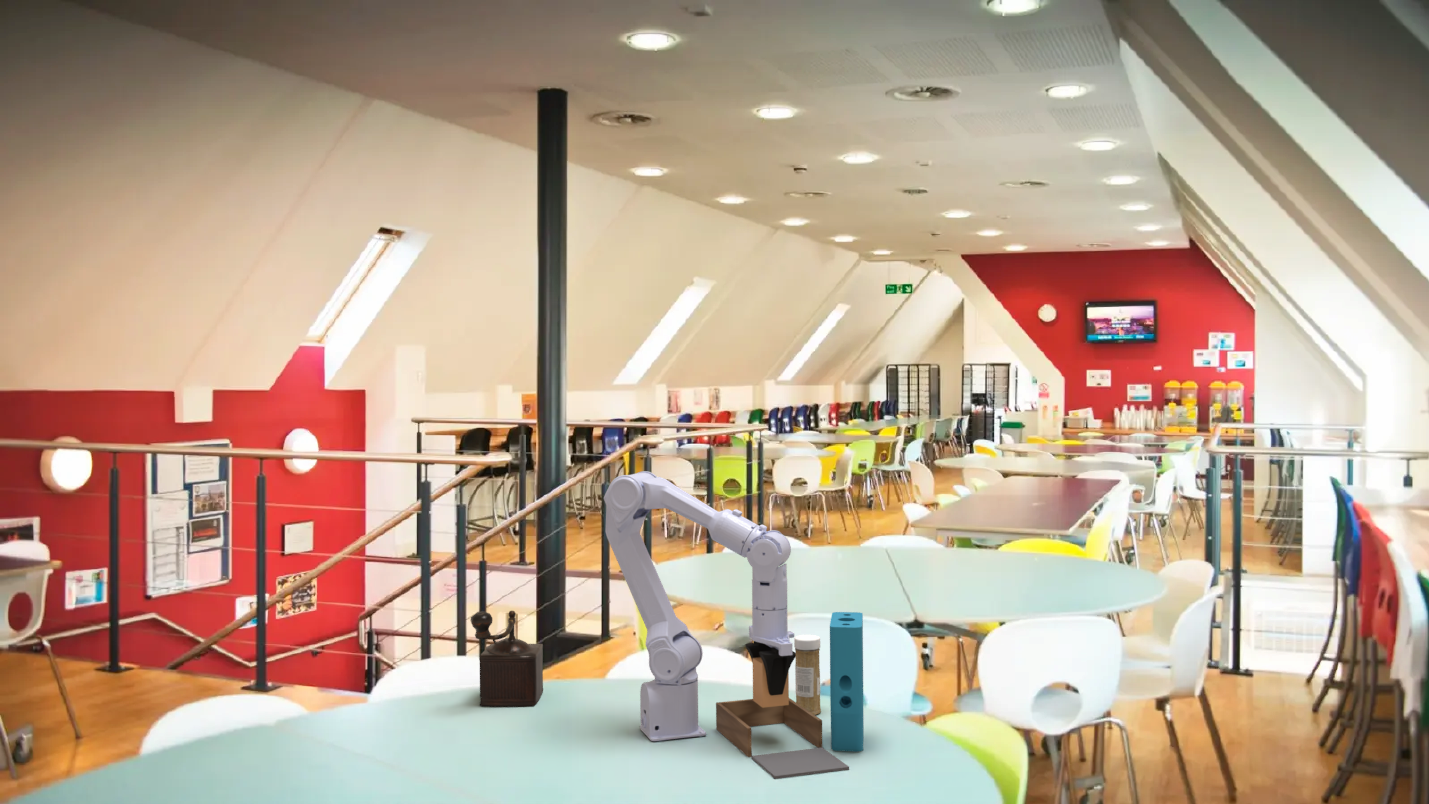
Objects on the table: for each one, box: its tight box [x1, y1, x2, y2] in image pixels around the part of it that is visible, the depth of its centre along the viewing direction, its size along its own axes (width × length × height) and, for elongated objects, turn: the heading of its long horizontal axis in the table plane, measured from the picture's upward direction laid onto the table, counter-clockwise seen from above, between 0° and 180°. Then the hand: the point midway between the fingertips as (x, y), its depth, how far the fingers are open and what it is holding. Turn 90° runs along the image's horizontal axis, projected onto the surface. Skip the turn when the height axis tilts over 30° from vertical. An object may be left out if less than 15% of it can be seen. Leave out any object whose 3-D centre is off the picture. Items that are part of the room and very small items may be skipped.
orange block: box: [752, 657, 790, 708], centre depth 190 cm, size 4×4×7 cm
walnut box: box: [715, 697, 823, 758], centre depth 192 cm, size 13×16×4 cm
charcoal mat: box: [750, 746, 850, 780], centre depth 179 cm, size 12×10×1 cm
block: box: [829, 611, 865, 753], centre depth 189 cm, size 12×5×20 cm, turn 172°
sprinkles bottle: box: [793, 634, 822, 716], centre depth 206 cm, size 5×5×13 cm
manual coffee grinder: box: [470, 610, 544, 708], centre depth 215 cm, size 16×11×18 cm
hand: (770, 690), depth 190 cm, fingers closed on orange block, 4 cm apart
